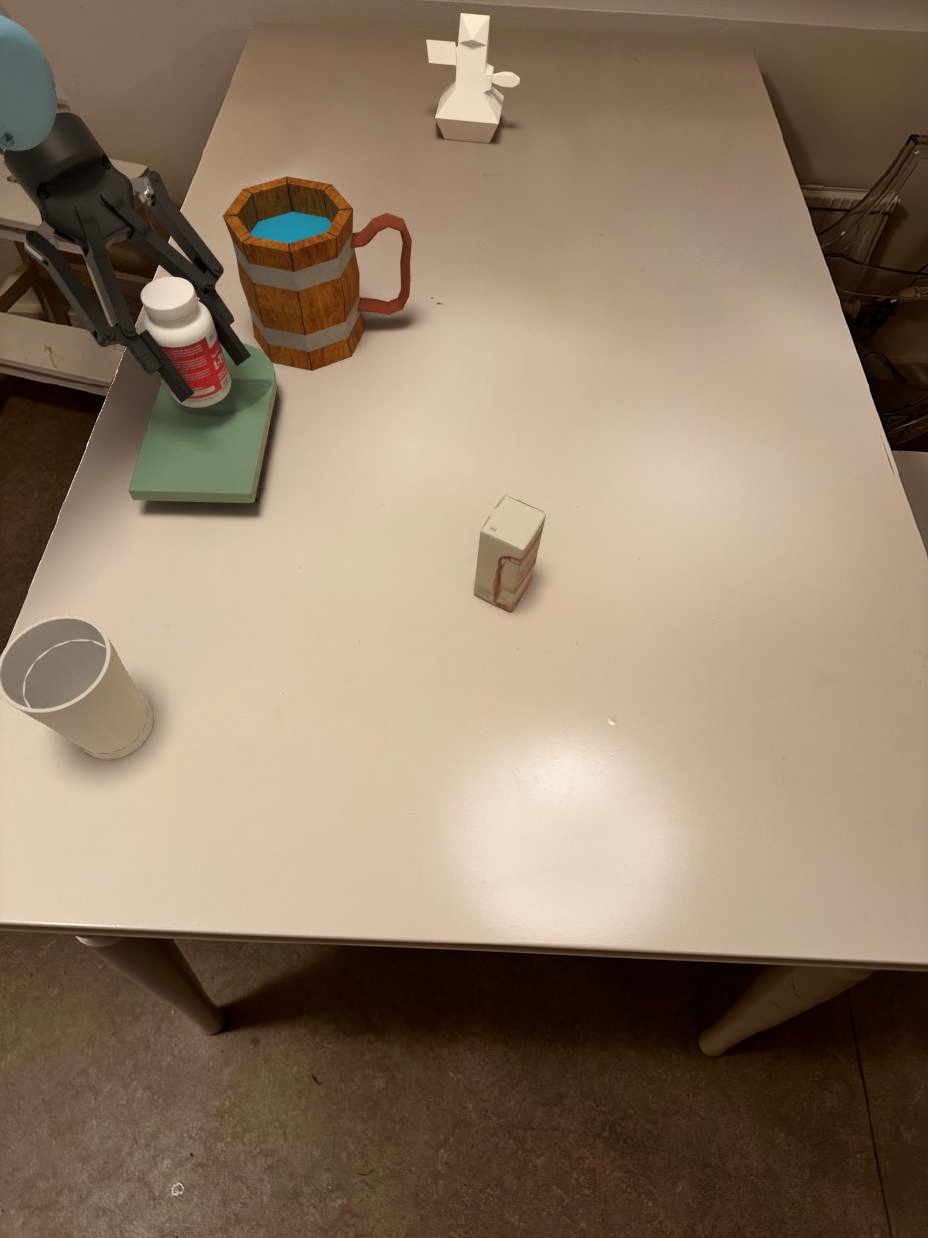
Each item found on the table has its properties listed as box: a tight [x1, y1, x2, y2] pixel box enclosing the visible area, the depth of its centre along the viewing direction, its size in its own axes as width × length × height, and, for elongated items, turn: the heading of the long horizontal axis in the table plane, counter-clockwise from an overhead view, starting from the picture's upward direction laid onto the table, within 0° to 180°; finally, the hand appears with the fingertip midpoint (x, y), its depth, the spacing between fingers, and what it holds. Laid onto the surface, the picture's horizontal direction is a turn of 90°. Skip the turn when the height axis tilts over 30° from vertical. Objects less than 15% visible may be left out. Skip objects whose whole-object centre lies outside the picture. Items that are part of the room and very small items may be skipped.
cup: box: [0, 614, 155, 761], centre depth 59 cm, size 8×8×12 cm
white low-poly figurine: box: [426, 12, 521, 144], centre depth 109 cm, size 8×14×14 cm, turn 83°
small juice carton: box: [473, 493, 547, 612], centre depth 68 cm, size 5×4×10 cm
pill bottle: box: [140, 276, 231, 407], centre depth 71 cm, size 6×6×11 cm
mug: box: [222, 175, 413, 371], centre depth 84 cm, size 20×14×15 cm
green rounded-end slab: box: [127, 342, 278, 504], centre depth 80 cm, size 22×12×4 cm, turn 179°
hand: (216, 378), depth 71 cm, fingers closed on pill bottle, 6 cm apart
